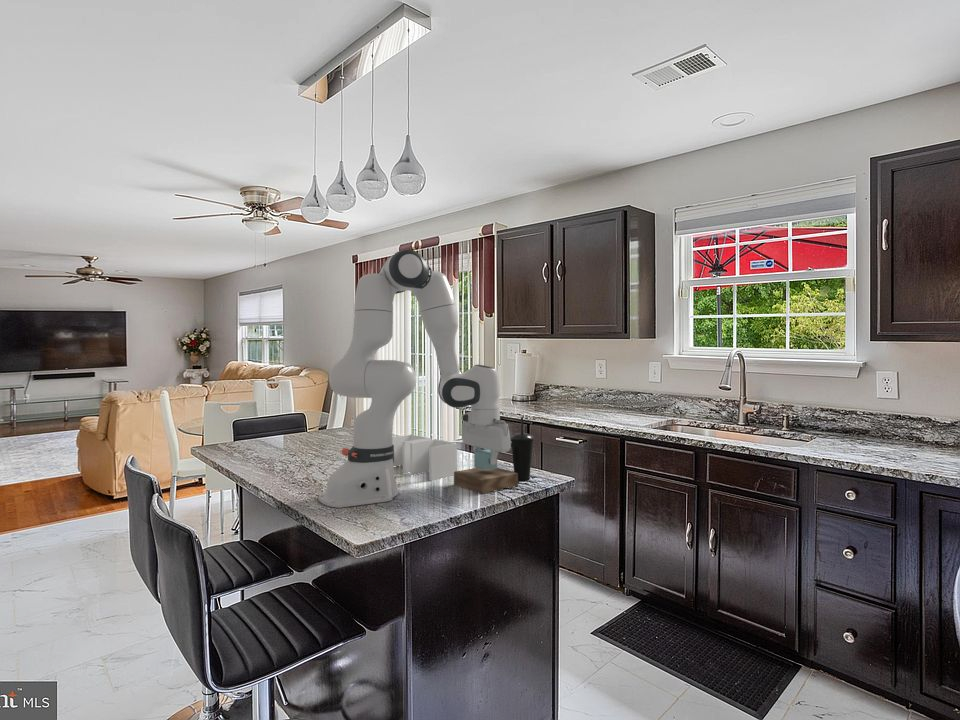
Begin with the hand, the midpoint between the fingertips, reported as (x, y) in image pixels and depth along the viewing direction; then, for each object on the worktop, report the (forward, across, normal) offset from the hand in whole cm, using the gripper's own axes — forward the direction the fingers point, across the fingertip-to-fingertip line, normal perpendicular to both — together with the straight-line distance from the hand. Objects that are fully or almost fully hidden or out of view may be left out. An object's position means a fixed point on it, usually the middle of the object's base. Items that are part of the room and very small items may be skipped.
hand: (485, 462), depth 171 cm
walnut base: (+7, 0, 0) cm, 7 cm away
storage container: (+8, +28, +6) cm, 30 cm away
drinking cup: (+7, -1, -14) cm, 16 cm away
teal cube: (+2, 0, 0) cm, 2 cm away
